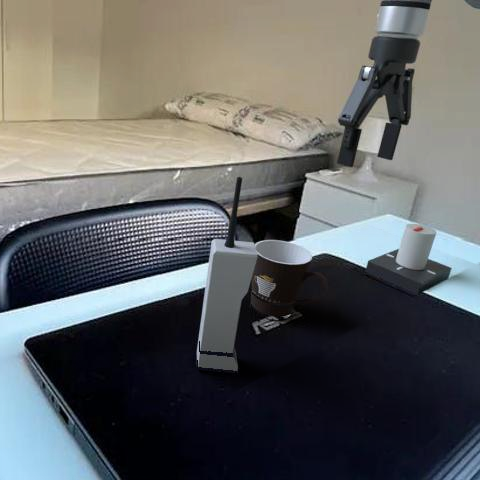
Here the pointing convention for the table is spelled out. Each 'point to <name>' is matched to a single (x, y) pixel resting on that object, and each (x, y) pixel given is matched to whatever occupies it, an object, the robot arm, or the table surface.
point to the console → (408, 273)
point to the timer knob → (415, 246)
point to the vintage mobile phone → (225, 294)
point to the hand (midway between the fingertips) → (365, 161)
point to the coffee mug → (281, 276)
